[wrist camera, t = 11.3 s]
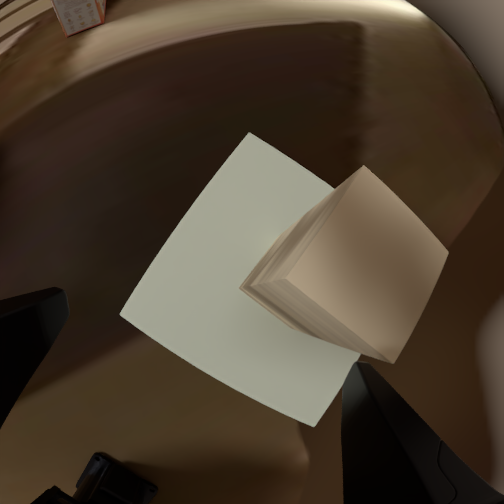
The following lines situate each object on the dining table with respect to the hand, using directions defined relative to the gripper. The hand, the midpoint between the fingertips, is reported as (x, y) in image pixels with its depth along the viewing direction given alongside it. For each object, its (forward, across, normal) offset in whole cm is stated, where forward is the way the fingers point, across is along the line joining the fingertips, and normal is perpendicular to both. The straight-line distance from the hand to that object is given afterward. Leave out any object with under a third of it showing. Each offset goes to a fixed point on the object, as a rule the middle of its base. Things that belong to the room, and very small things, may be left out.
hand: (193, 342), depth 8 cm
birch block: (+14, -3, +4) cm, 15 cm away
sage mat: (+14, -3, +5) cm, 15 cm away
